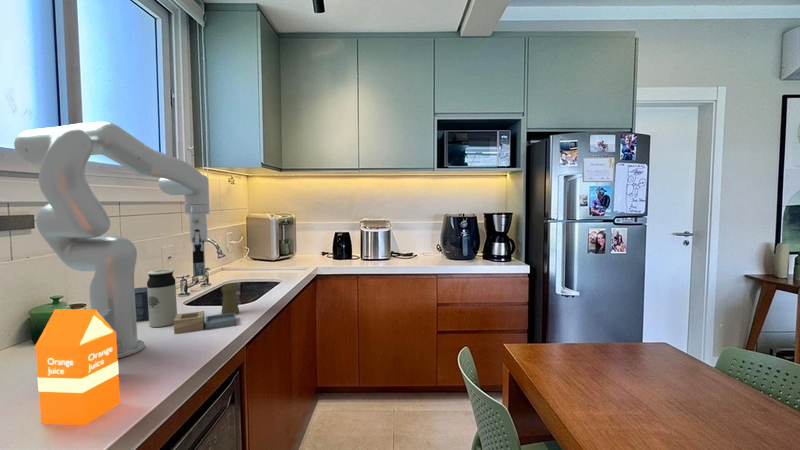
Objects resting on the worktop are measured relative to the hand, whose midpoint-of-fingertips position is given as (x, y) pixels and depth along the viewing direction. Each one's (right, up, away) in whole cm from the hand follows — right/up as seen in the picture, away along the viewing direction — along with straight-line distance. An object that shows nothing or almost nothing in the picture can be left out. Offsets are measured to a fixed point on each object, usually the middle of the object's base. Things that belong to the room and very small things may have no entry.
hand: (199, 261), depth 130 cm
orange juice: (+10, -23, -60) cm, 65 cm away
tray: (+11, -20, -7) cm, 24 cm away
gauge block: (+3, -20, -11) cm, 23 cm away
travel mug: (-9, -21, -6) cm, 23 cm away
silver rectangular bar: (0, -5, 0) cm, 5 cm away
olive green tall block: (+9, -20, +5) cm, 22 cm away
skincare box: (+3, -23, -48) cm, 53 cm away
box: (-21, -21, +1) cm, 29 cm away
